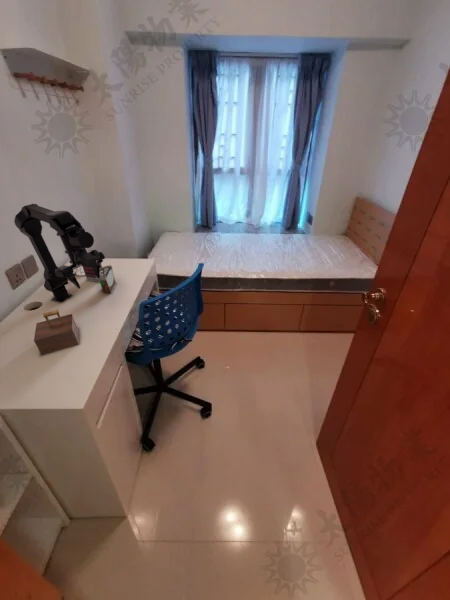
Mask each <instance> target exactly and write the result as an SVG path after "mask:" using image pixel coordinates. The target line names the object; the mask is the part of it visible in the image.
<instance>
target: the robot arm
mask: <svg viewBox="0 0 450 600" xmlns="http://www.w3.org/2000/svg"><path fill="white" fill-rule="evenodd" d="M42 222H44V223H47V224H48V225H49V227H50V228H51V229H53V230H54V231H56V236H57V237H59V238H60V240H61V243H62V244H63V247H64V249H65V250H64V254H65V255H66V254H67V256H68V258H69V261H68V262H70V263H69V264H70V265H61V266H57V263H56V262H55V260H54V257H53V256H52V254H51V252H50V250H49V247H48V244H47V243H46V241H45V239H44V237H43V235H42V232H43V225H42ZM13 223H14V225H15V227H16V228H17V229H18V231H19V232H20V233H21V234H23V235H24V236H26V238H28V240H29V241H30V243H31V246H32V248H33V249H34V251H35V254H36V256H37V257H38V259H39V261H40V263H41V265H42V267H43V278H44V283H43V287H44V289H45V290H46V291H48V292H50V293H52V296H53V297H52V298H51V301H55V302H58V303H63V302H65V301H66V300H68V299H69V298H71V297H72V296H73V294H72V293H69V292H68V289H67V287H66V285H69V282H71V283H72V284H73V286H75V287H76V288H77V289H79V290H80V289H81V285H80V284H79V281H78V279H77V277H76V276H77V275H76V273H74V271H75V270H76V268H78V269H79V267H80V266H82V265H83V266H85V267H86V268H89V267H92V269H93V271H94V273H95V275H96V277H97V278H100V264H101V265H102V263H103V262H104V260H105V259H106V256H105V253H104V252H103V251H99V250H98V249H92V250H93V251H91V252H87V251H86V249H90V248H91V247H92V246H93V245H94V243H95V239H94V236H93V235H92V233H90V232H88V231H86V230H85V228H84V227H83V226H82V225H81V222H80V221H79V220H77V219H76V217H75V216H74V215H73V214H72V213H71V212H70V211H68V210H52V209H50V208H49V209H48V208H46V207H43V206H41V205H39V204H36V203H30V204H26V205H23V206H22V207H21V209H20V211H19V212H18V213H17V214H15V216H14V221H13Z"/></svg>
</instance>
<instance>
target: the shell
mask: <svg viewBox="0 0 450 600" xmlns="http://www.w3.org/2000/svg"><path fill="white" fill-rule="evenodd" d="M68 262H69V261H68ZM69 264H71V263H70V262H69ZM75 270H76V273H75V274H76V275H75V276H86V275H85V272H84V269H83V267H82V266H80V267H78V268H76V269H75Z"/></svg>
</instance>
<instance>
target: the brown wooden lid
mask: <svg viewBox="0 0 450 600" xmlns="http://www.w3.org/2000/svg"><path fill="white" fill-rule="evenodd" d="M42 316H43V318H44V319H45V320H43V321H39V322H36V324H35V331H34V337H33V342H34V343H35V342H36V341H39V340H43V339H46V338H50V337H54V336H57V335H61V334H64V333H68V332H71V331H73V318H74V316H73V313H70V314H66V315H62V316H61V315H60V310H59V309H56V310H52V311H47V312H44V313H42ZM52 316H57V317H54V318H51V319H50V318H49V317H52Z"/></svg>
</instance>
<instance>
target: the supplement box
mask: <svg viewBox="0 0 450 600" xmlns="http://www.w3.org/2000/svg"><path fill="white" fill-rule="evenodd" d="M85 249H86V251H87V252H91V251H93V250H94V249H89V248H85ZM82 267H83V269H84V272H85V275H84V276H85V277H86V280H87V281H91V282H97V283H100V282H99V280H98V279H97V278H96V275H95V273H94V271H93V269H92V267H89V268H86V267H85V266H83V265H82ZM102 267H103V266H102V263H101V264H100V268H102Z"/></svg>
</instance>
